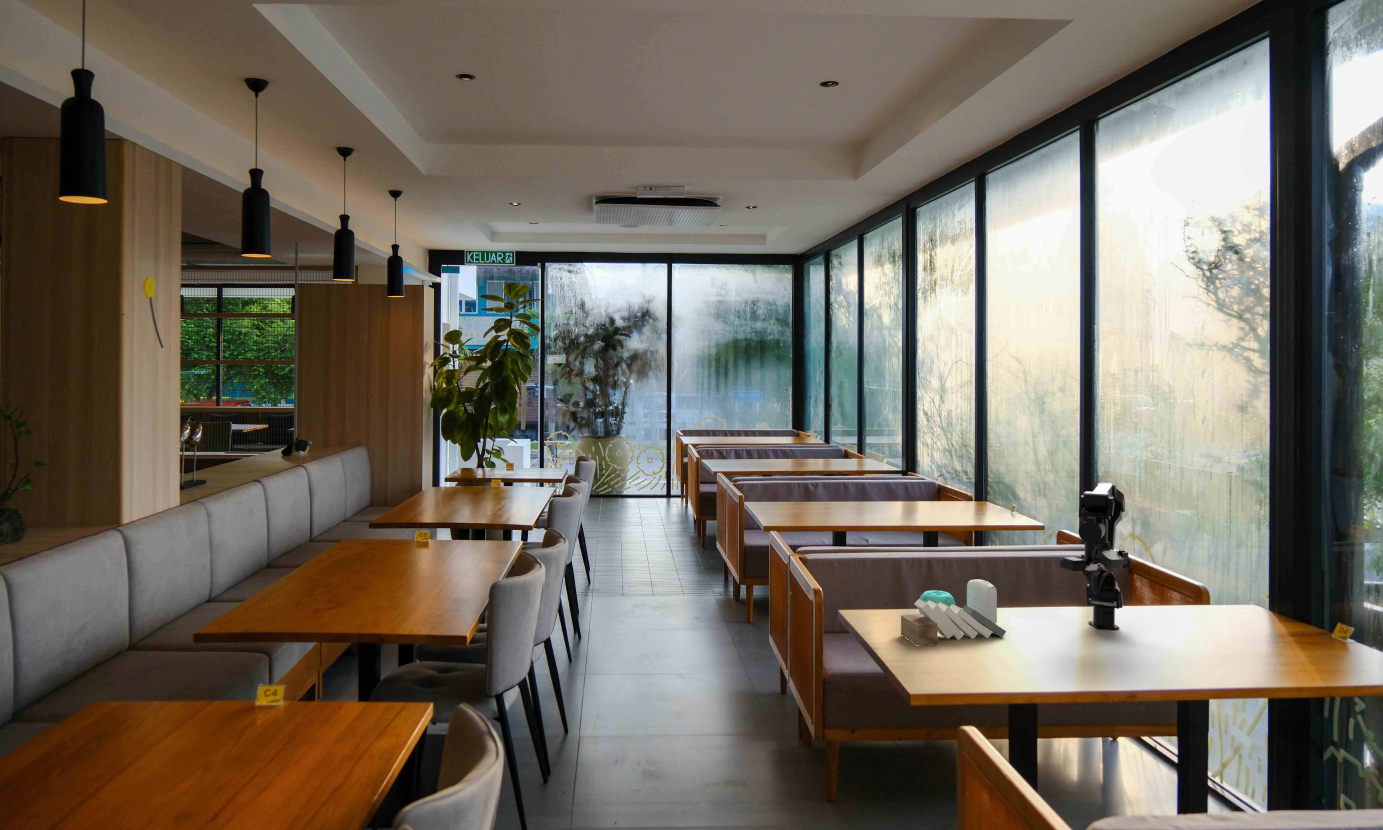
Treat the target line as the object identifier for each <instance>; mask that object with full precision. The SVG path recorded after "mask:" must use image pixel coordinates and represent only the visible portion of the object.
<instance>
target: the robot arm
mask: <svg viewBox="0 0 1383 830" xmlns="http://www.w3.org/2000/svg"><path fill="white" fill-rule="evenodd" d="M1125 512H1126V499H1125V494H1124V493H1123V492H1121V490H1119V489H1118V488H1117V485H1116V484H1115V483H1114V482H1112V483H1111V482H1099V483H1097V484H1096V487H1095V488H1094V490H1093V491H1084V492H1083V495H1081V496H1080V502H1079V510H1078V518H1081V519H1083V518H1084V522H1083V523H1081V525H1080V526H1079V529H1078V535H1079V538H1080V539H1081V541H1080V542H1081V544H1083V545H1084V553H1083V554H1081V555H1080V556H1081V558H1079V557H1075V556H1066V557H1062V558H1061V559H1060V563H1059V564H1060V565H1059V566H1060V568H1062V569H1064V570H1065V569H1066V570H1068V571H1071V572H1082V574H1083V576H1084V577H1085V579H1086V581H1087V583H1088V584H1087V585H1086V604H1087V606H1092V620H1089V621H1088V624H1089V625H1091V626H1092V627H1094V628H1096V629H1098V630H1099V629H1100V630H1105V629H1106V630H1120V628H1121V627H1119V626H1118V625H1117V624H1115V623H1116V619H1115V618H1116V614H1115V613H1116V609H1117V610H1119V609H1123V593H1122V592H1121V589H1120V587H1119V585H1118V582H1117V580H1116V578H1115V577H1114V575H1113V572H1114V571H1115V570H1121V569H1132V561H1131V559H1130V557H1129V552H1128V550H1125V549H1118V550H1115V543H1116V529H1117V525H1119V523H1120V522H1121V521H1122V519H1123V513H1125Z"/></svg>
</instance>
